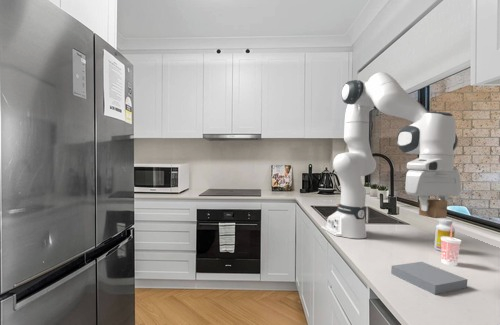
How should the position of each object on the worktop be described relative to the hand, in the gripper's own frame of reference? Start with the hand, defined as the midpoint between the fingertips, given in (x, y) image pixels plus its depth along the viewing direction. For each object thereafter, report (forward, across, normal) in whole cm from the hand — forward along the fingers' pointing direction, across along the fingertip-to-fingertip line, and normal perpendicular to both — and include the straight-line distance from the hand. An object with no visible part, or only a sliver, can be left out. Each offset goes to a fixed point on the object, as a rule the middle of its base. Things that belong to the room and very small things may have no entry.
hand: (432, 210), depth 85 cm
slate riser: (+21, 0, 0) cm, 21 cm away
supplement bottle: (+22, -37, -19) cm, 47 cm away
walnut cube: (+2, 0, 0) cm, 2 cm away
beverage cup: (+22, -23, -8) cm, 33 cm away
